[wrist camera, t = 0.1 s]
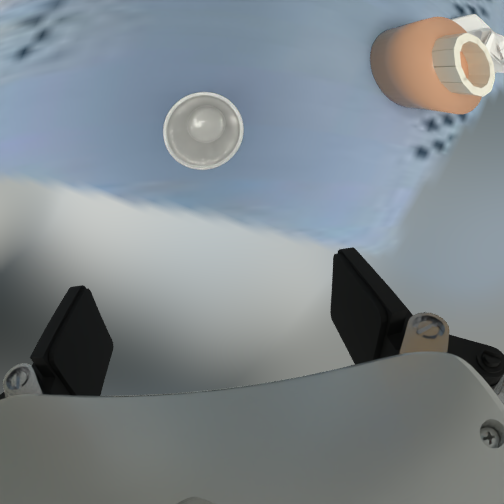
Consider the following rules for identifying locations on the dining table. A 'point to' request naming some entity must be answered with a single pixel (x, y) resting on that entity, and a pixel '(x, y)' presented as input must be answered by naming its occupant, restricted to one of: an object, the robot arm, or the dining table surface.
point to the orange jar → (432, 66)
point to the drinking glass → (203, 130)
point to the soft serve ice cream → (485, 38)
